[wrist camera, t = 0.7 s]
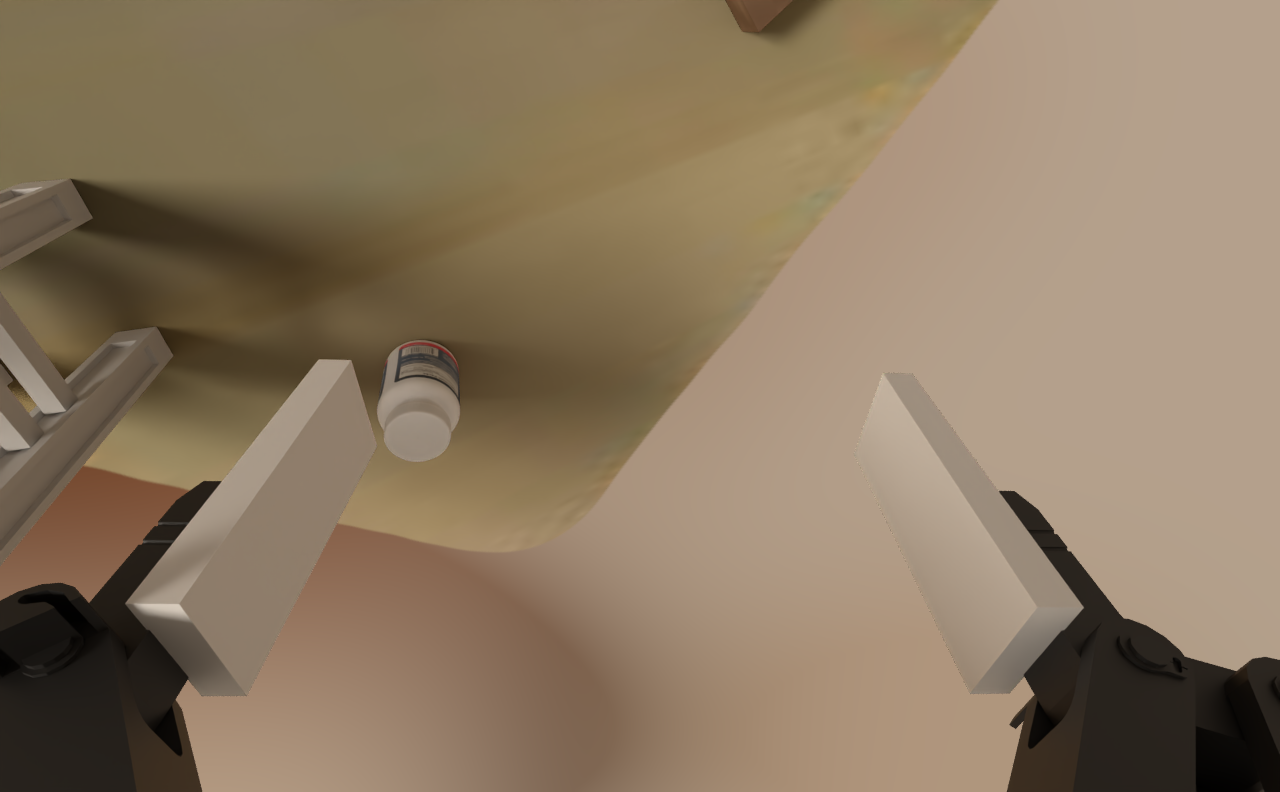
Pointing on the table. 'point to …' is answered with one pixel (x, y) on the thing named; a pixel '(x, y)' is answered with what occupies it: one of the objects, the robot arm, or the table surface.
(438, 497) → the table surface
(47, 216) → the stool
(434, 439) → the pill bottle
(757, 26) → the wooden frame
